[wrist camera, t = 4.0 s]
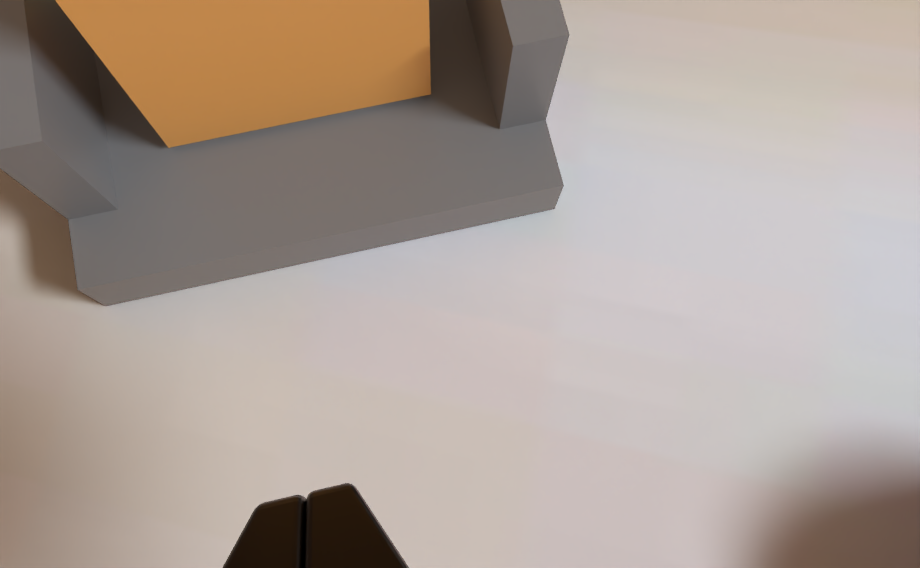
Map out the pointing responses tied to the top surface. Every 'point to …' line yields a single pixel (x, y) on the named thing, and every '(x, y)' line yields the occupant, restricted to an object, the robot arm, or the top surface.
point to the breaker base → (279, 155)
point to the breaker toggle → (256, 59)
